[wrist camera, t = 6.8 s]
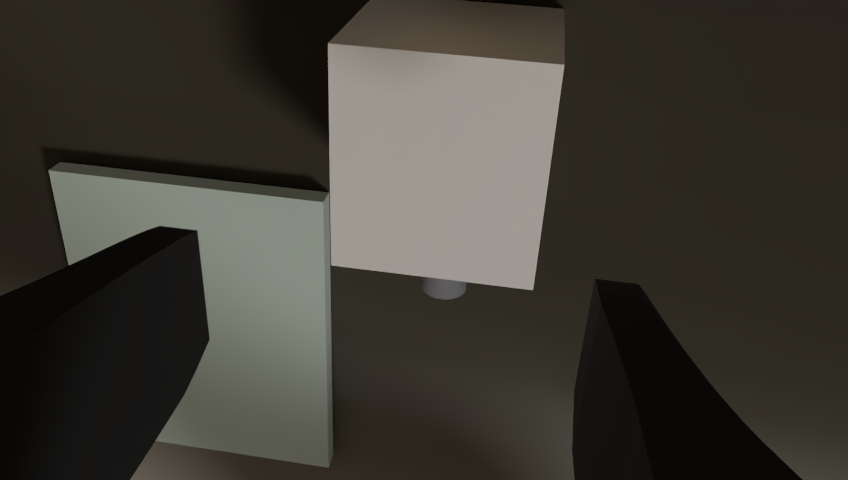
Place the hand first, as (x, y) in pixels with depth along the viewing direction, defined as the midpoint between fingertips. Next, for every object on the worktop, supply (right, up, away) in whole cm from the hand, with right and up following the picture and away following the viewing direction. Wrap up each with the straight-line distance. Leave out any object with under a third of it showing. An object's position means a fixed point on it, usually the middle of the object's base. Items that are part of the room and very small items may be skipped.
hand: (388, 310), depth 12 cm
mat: (-6, -1, +13) cm, 14 cm away
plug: (+1, +4, +9) cm, 10 cm away
